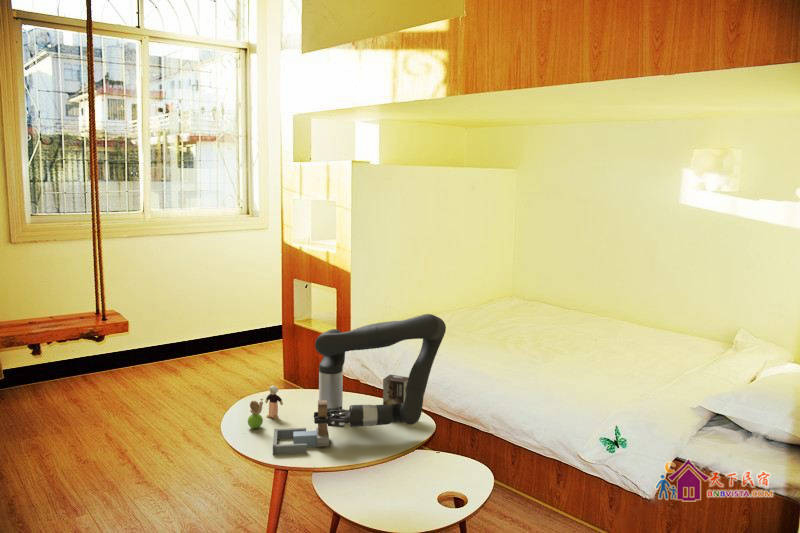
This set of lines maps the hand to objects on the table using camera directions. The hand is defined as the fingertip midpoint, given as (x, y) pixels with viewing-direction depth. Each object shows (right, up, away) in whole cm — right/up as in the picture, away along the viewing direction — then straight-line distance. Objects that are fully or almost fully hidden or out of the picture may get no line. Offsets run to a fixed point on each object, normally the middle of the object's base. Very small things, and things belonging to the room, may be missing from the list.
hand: (314, 417), depth 214 cm
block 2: (-1, -9, +1) cm, 10 cm away
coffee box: (+28, -7, +26) cm, 39 cm away
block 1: (-5, -9, 0) cm, 11 cm away
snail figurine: (-23, -7, +14) cm, 28 cm away
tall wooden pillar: (+3, -8, +2) cm, 9 cm away
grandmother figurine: (-19, -6, +24) cm, 32 cm away
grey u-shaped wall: (-8, -9, 0) cm, 12 cm away
